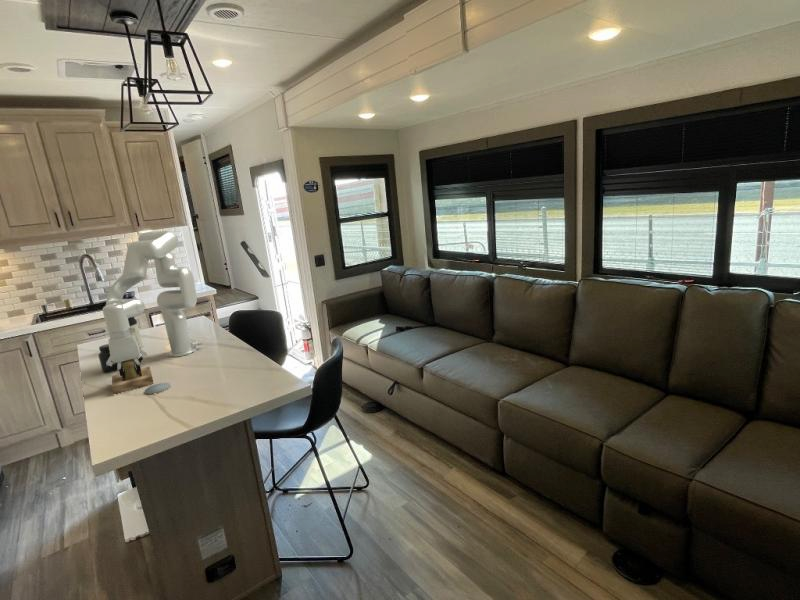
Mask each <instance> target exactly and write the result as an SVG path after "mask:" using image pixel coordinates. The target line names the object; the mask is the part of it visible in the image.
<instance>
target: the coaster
mask: <svg viewBox="0 0 800 600" xmlns="http://www.w3.org/2000/svg"><path fill="white" fill-rule="evenodd" d="M169 387H170V388H171V384H170V383H169V382H160V383H159V382H158V383H156V384H155V383H154V384H153V385H149V386H147V388H146V389H145V390H144V392H145V394H146V395H155V394H154V393H157V394H160V393H159V392H161V393H163V392H165V391H164V390H166V389H167V390H169V389H170V388H169ZM168 388H169V389H168ZM167 390H166V391H167ZM162 391H163V392H162Z"/></svg>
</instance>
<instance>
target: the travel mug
mask: <svg viewBox="0 0 800 600" xmlns="http://www.w3.org/2000/svg"><path fill="white" fill-rule="evenodd" d="M135 318H136V317H131V318H128V321H129V325H130V328H135V331H134V332H132V334H134V335H135V337H136V339H137V342H138V345H139V348H140V349H141V347H142V348H143V347H144V345H143V341H142V337H141V333H140V328H139V325H138V322H137V319H135Z"/></svg>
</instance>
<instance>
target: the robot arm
mask: <svg viewBox="0 0 800 600" xmlns="http://www.w3.org/2000/svg"><path fill="white" fill-rule="evenodd" d="M178 244H179V236H178V235H177V233H175V232H174V231H172V230H159V231H147V232H142V233H141V234H139V235H138V238H137V240H136V241H133V242H130V244H129V245H127V250H126V255H125V261H124V265H123V271H122V274H121V276H119V277H118V278H117V279H116V280H115V282H114V283H113V284H112V286H111V287H110V289H109V290H108V292H107V296H106V303H105V306H103V307H102V314H103V317H104V321H105V325H106V329H107V332H108V335H109V338H108V343H107V344H109V350H110V357H109V359H108V361H107V362H106V365H109V366H112V367H114V368H117V369H118V370H117V371H118V372H119V373H118V374H120V376H123V378H125V375H124V369H123V368H122V367H121V362H124V361H128V360H132V359H134V361H135V362H136V364H135V367H136V369H137V373H138V374H140V372H139V371H141V369H142V368H141V363H142V361H143V360H144V359H145V358H146V357H147V356H148V353H147V352H146V351H144V350H142V349H141V348H139V345H138V342H137V339H136V337H135V335H134V334H132V332H134V331H135V328H130V325H129V321H128V318H131V317H134V318H136V317H139V316H141V315H142V314H143V313H144V312H145V309H146V306H145V303H144V302H143V300H141V299H139V298H123V297H124V296H125V293H126V292H127V291H128V290H129V289H131V288H133V287H134V286H136V285H137V284H139V283H141V282H143V281H144V280H145V279H146V278H147V272H148V267H149V261H151V260H152V261H153V262H154V266H155V267H154V268H155V273H156V279H157V283H158V285H159V287H161V288H163V289H165V288H167V289H168V288H169V290H164V291H161V292H159V293H158V295H157V297H156V303H157V306H158V308H159V310H160V312H161V315H162V318H163V322H164V326H165V330H166V334H167V339H168V344H169V346H170V350H169V351H168V353H167V354H168V356H169V357H172V358H177V357H183V356H187V354H188V355H190V354H192V352H193V353H194V352H196V351H197V346H201V345H203V342H202V340H200V341H199V340H196V341H193V340H192V338H191V334H190V331H189V330H190V329H189V325H188V321H187V316H186V315H185V313H184V311H183V310H191V309H194V308H195V307H196V305H197V291H196V284H195V277H194V274H193V272H192V271H191V269H189V268H188V267H186V266H176V260H175V256H174V255H173V253H172V251H174V250H175V249H176V248H177V246H178ZM171 288H179V289H171ZM170 289H171V290H170ZM195 350H196V351H195ZM111 361H113V363H112V362H111ZM116 363H117V364H116Z"/></svg>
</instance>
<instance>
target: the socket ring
mask: <svg viewBox="0 0 800 600" xmlns="http://www.w3.org/2000/svg"><path fill="white" fill-rule="evenodd" d="M139 372H140V374H139V376H140V377H138V378H134V379H130V380H126V381H125V378H123V376H120V373H118V374H114V375H111V389H112V392H113V395H114V394H116V395H119V394H118V393H120V394H122V393H121V392H124V393H127V392H131V391H134V390H133V389H135V390H138V389H141V388H145V386H146V387H149V386H153V385H155V383H153V382H154V379H153V375H152V370H151V366H150V365H149V366H147V367H142V368H141V371H139ZM152 384H153V385H152ZM148 385H149V386H148ZM137 388H138V389H137ZM130 390H131V391H130ZM126 391H127V392H126Z"/></svg>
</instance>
